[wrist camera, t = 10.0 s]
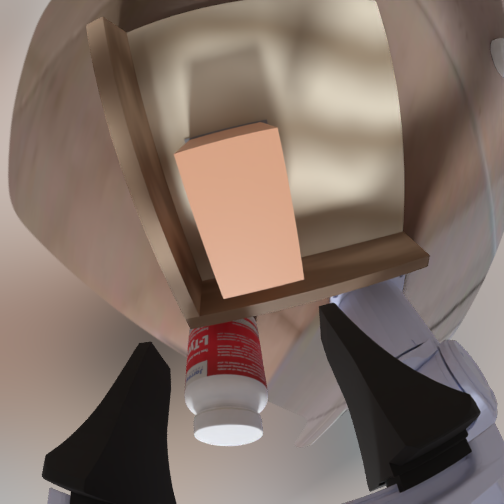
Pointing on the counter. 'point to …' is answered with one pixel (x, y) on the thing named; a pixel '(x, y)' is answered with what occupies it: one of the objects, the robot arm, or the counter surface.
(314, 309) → the counter surface
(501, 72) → the bottle
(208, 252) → the block
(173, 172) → the tray
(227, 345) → the pill bottle
